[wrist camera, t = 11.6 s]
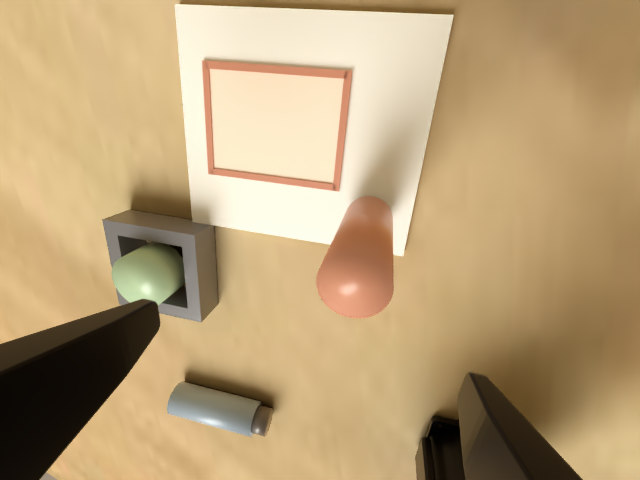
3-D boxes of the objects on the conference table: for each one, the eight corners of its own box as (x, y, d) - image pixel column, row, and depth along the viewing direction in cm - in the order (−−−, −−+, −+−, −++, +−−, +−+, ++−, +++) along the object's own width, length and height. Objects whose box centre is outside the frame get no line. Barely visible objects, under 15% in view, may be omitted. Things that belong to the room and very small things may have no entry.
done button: (184, 246, 22) (161, 261, 20) (189, 294, 24) (167, 313, 21) (135, 237, 23) (107, 251, 20) (142, 284, 24) (117, 302, 22)
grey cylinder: (275, 404, 29) (269, 404, 27) (267, 438, 28) (260, 442, 26) (189, 382, 31) (176, 380, 28) (177, 414, 29) (162, 415, 27)
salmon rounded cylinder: (396, 194, 19) (400, 258, 10) (388, 237, 20) (385, 325, 12) (350, 188, 19) (319, 244, 11) (345, 230, 20) (313, 309, 12)
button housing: (214, 223, 23) (194, 235, 20) (218, 303, 25) (201, 322, 23) (130, 209, 24) (102, 219, 21) (142, 288, 26) (119, 304, 24)
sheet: (452, 17, 15) (454, 13, 15) (402, 253, 20) (403, 257, 20) (179, 6, 18) (172, 2, 17) (195, 220, 23) (190, 222, 22)
